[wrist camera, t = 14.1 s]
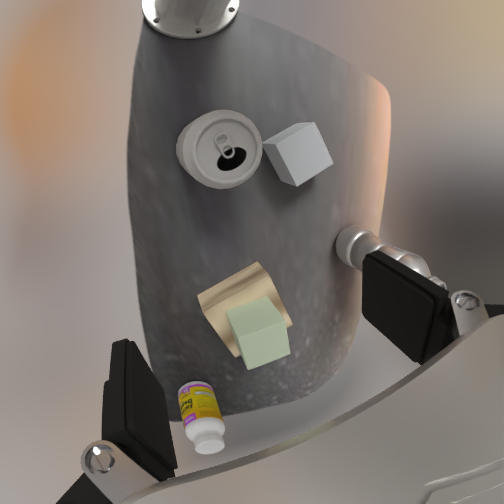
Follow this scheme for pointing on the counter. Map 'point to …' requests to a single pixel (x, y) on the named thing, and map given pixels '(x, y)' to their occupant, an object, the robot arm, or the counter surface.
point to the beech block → (238, 300)
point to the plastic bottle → (364, 241)
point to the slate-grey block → (298, 153)
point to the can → (220, 149)
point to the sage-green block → (259, 332)
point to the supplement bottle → (201, 417)
